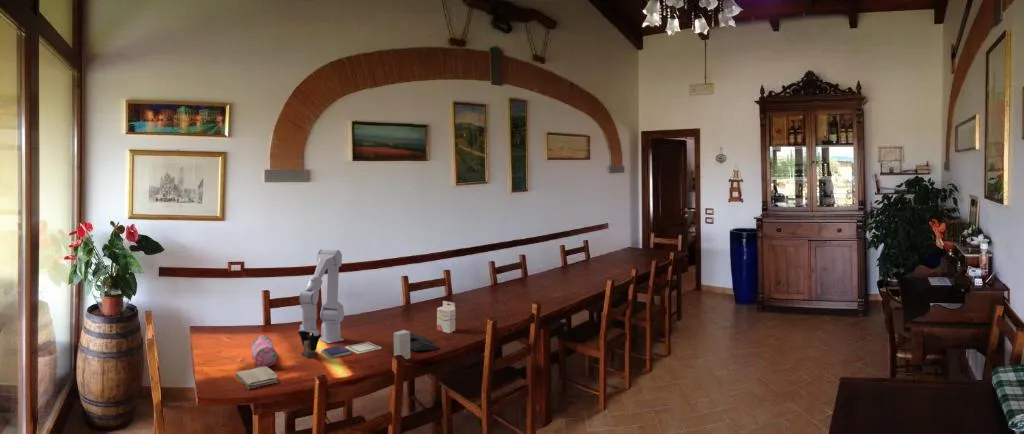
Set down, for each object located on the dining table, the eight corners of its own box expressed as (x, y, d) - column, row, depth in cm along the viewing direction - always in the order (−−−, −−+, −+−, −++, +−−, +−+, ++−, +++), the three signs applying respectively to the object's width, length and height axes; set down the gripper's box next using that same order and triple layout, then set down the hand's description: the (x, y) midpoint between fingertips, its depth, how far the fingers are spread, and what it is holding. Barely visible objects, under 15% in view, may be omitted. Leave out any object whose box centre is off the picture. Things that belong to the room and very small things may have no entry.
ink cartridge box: (436, 330, 304) (436, 302, 303) (442, 328, 309) (442, 300, 307) (449, 333, 300) (449, 304, 299) (455, 331, 304) (455, 302, 303)
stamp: (301, 355, 262) (301, 341, 262) (312, 353, 266) (312, 338, 265) (306, 358, 259) (306, 343, 258) (317, 355, 262) (317, 341, 262)
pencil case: (250, 355, 262) (250, 335, 261) (273, 352, 266) (272, 332, 265) (254, 370, 243) (253, 349, 242) (278, 367, 247) (277, 346, 246)
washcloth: (248, 391, 222) (248, 383, 222) (234, 377, 236) (234, 369, 236) (280, 384, 230) (280, 376, 230) (265, 371, 244) (264, 363, 243)
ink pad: (321, 352, 266) (321, 348, 266) (340, 348, 272) (339, 344, 272) (332, 358, 259) (332, 354, 259) (350, 354, 265) (350, 350, 265)
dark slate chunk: (411, 355, 267) (411, 345, 266) (393, 342, 285) (393, 332, 285) (442, 350, 275) (442, 340, 274) (423, 337, 293) (423, 328, 293)
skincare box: (404, 356, 264) (404, 329, 263) (410, 358, 261) (410, 331, 260) (393, 359, 259) (393, 332, 258) (399, 361, 256) (399, 334, 255)
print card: (345, 347, 274) (345, 346, 274) (368, 342, 282) (368, 341, 282) (358, 354, 265) (358, 352, 265) (381, 348, 274) (381, 347, 274)
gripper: (293, 316, 263) (293, 346, 264) (307, 322, 253) (308, 354, 254) (308, 313, 268) (308, 343, 269) (323, 320, 258) (323, 350, 259)
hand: (309, 348), depth 262 cm, fingers open, 7 cm apart
